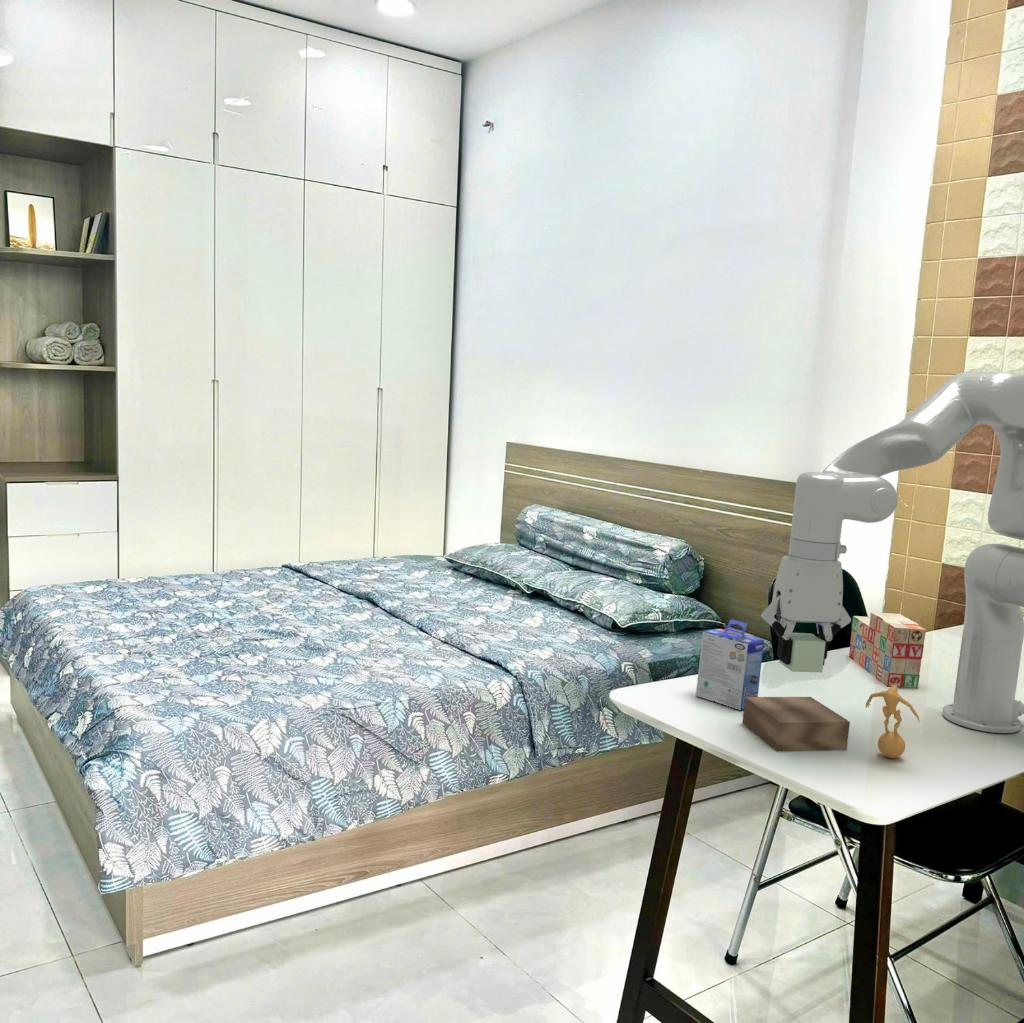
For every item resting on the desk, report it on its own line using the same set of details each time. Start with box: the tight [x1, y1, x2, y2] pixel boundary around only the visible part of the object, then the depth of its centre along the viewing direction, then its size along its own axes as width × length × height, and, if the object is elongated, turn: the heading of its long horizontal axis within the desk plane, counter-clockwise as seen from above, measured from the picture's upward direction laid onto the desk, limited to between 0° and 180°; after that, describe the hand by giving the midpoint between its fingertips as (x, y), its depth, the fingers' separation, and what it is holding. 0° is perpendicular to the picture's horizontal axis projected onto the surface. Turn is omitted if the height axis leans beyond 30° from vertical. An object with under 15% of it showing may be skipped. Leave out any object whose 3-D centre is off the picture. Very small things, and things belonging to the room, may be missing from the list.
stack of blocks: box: [848, 611, 927, 690], centre depth 199 cm, size 21×6×12 cm, turn 1°
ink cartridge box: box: [695, 618, 765, 711], centre depth 172 cm, size 10×6×14 cm, turn 44°
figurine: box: [865, 685, 921, 759], centre depth 149 cm, size 8×6×12 cm
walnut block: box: [741, 696, 851, 752], centre depth 157 cm, size 12×12×5 cm
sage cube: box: [779, 632, 826, 673], centre depth 156 cm, size 5×5×5 cm
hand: (801, 661), depth 156 cm, fingers closed on sage cube, 5 cm apart
